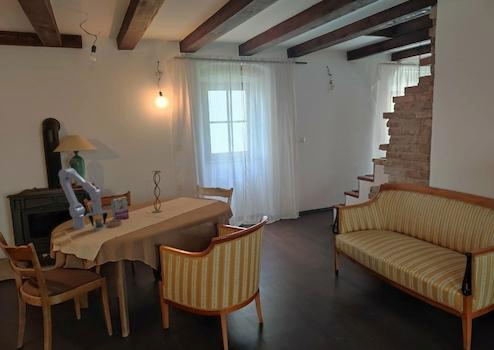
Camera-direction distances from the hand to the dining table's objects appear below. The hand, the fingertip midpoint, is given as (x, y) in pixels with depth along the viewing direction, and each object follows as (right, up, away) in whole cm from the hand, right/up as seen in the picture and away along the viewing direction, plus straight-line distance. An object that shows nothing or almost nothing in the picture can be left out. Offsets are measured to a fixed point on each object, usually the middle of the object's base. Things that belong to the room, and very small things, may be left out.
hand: (98, 224), depth 260 cm
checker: (0, -3, 0) cm, 3 cm away
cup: (+9, -2, +7) cm, 11 cm away
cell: (0, -2, 0) cm, 2 cm away
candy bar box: (+7, +1, +25) cm, 26 cm away
